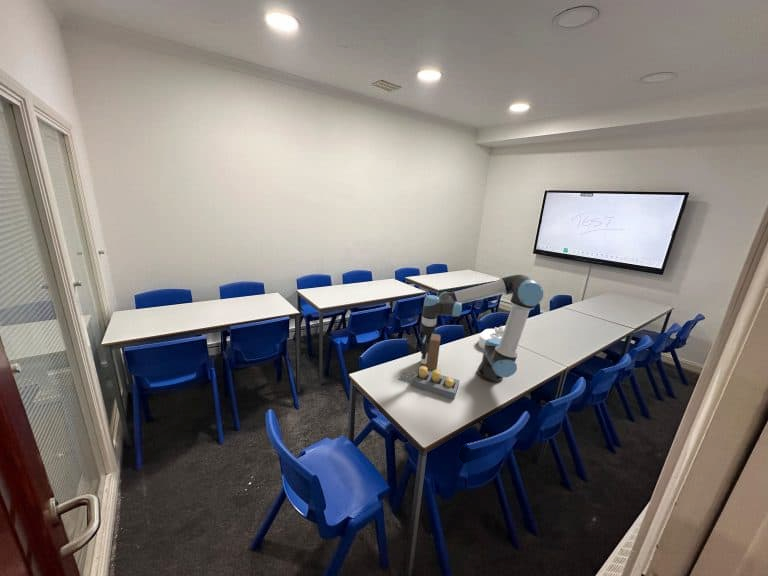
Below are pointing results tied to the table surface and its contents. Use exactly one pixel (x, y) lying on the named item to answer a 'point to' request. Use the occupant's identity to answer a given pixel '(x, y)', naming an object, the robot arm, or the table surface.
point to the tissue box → (491, 335)
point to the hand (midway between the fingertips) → (423, 362)
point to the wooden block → (433, 352)
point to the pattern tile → (406, 377)
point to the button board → (435, 385)
